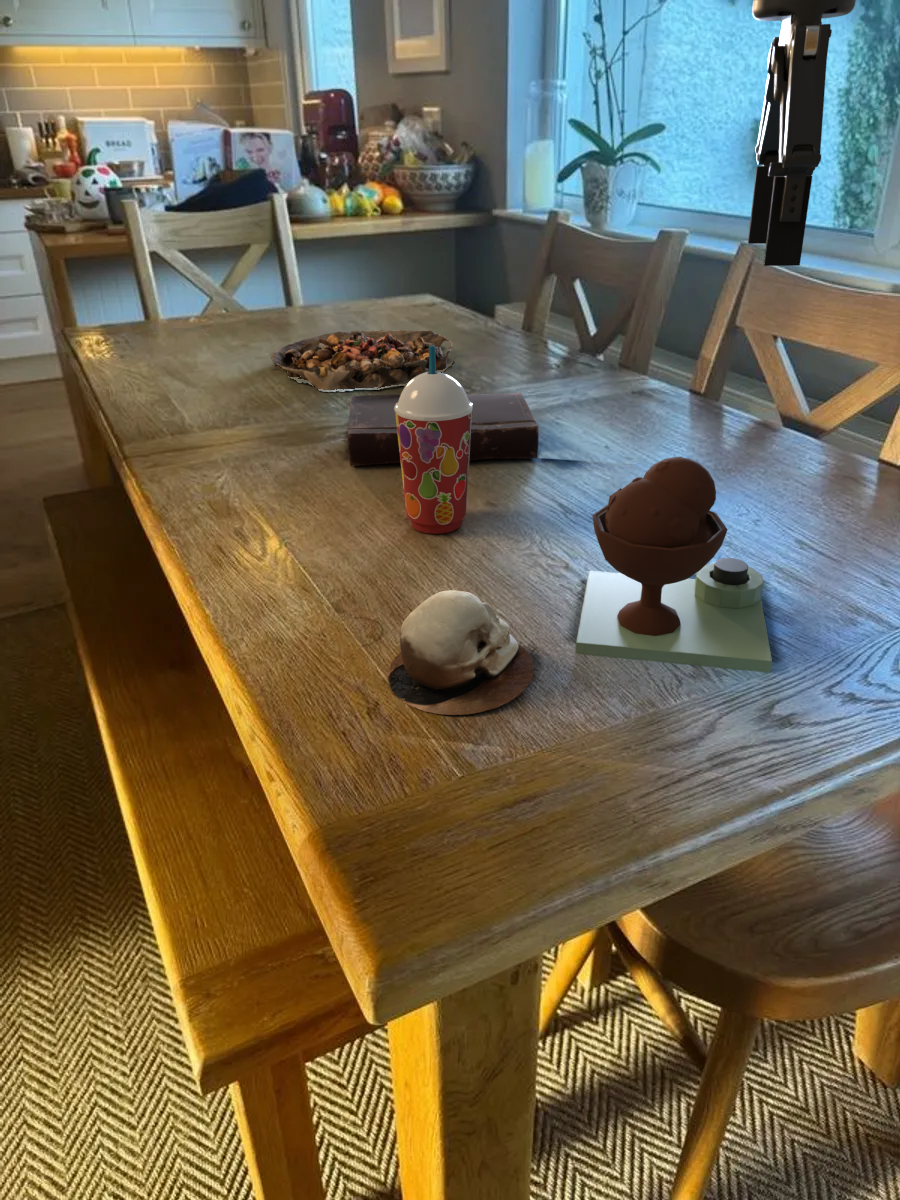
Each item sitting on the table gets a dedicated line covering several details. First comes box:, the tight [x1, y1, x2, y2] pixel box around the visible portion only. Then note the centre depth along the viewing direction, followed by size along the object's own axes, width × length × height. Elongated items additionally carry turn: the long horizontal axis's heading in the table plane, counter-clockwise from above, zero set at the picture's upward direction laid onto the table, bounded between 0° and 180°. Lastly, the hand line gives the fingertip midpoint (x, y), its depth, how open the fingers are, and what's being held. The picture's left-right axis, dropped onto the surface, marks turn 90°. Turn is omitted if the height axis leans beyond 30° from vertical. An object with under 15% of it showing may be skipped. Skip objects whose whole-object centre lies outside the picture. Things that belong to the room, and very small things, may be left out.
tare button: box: [713, 557, 749, 585], centre depth 83 cm, size 3×3×2 cm
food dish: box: [270, 329, 454, 390], centre depth 165 cm, size 35×33×8 cm
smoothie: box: [394, 345, 473, 535], centre depth 98 cm, size 8×8×20 cm
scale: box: [574, 562, 773, 674], centre depth 81 cm, size 16×14×3 cm
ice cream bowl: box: [591, 456, 728, 636], centre depth 76 cm, size 11×11×15 cm
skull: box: [387, 589, 535, 716], centre depth 74 cm, size 12×10×10 cm
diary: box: [347, 392, 539, 467], centre depth 126 cm, size 19×25×5 cm
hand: (771, 253), depth 79 cm, fingers open, 13 cm apart
